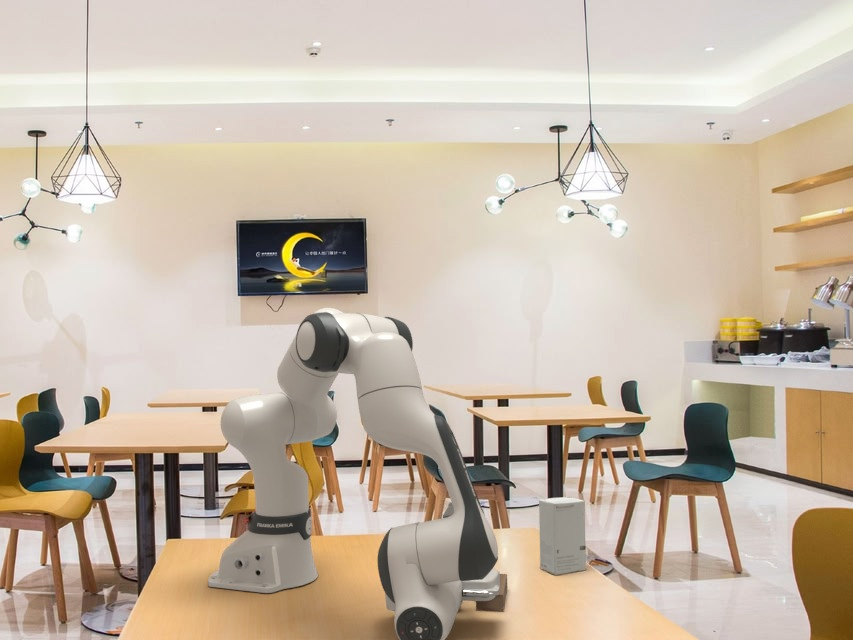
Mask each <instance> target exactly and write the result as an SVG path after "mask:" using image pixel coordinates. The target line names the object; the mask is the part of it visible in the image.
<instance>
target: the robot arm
mask: <svg viewBox="0 0 853 640" xmlns="http://www.w3.org/2000/svg"><path fill="white" fill-rule="evenodd" d="M413 344H414V343H413V337H412V333H411V331H410V328H409V326H408V325H407V324H406V323H405V322H403V321H401V320H399V319H397V318H393V317H390V316H379V315H375V314H369V313H362V312H356V313H348V312H346V313H345V312H343V311H341V310H340V309H337V308H333V307H322V308H319V309H317V310H316V311H314V312H313V313H310V314H309V315H307V316H305V318H304V319H303V320H302V321H301V323H300V324H299V327H298V329H297V332H296V334H295V336H294V338H293V339H292V341H291V343H290V345H289V347H288V349H287V351H285V354H284V356H283V357H282V360H281V362H280V363H279V366H278V367H277V374H276V375H277V376H276V377H277V382H278V386H279V387H280V389H281V390H282V391H281V392H272V393H260V394H258V393H257V394H248V395H247V396H243V397H242V396H241V397H239V398H237V399H233V400H231V401H228V403H227V404H226V405H225V407H224V409H223V411H222V413H221V416H220V429H221V432H222V435H223V437H224V438H225V440H226V442H227V443H228V444H229V445H230V446H231V447H233V448H235V449H236V450H237V451H239V453H240V454H241V455H242V456H243V457H244V458H245V460H246V462H247V464H248V465H249V467H250V470H251V473H252V479H253V485H254V486H253V488H254V499H255V501H254V502H255V509H254V510H252V512H251V513H250V514H248V515H247V517H245V518H244V519H243V520H244V525H246V524H247V530H245V532H243V533H242V534H241V535H240V536H238V537H237V538H236V539H235V540H234V541H233V542H232V543H230V544H229V545H228V546H227V547H226V548H225V549H224V550H223V552H222V553H221V557H220V559H219V567H218V569H217V570H215V571H214V572H213V573H211V575H210V576H208V579H207V585H208V587H210V588H219V589H227V590H237V591H246V592H251V593H261V594H262V593H263V594H271V593H277V592H279V591H281V590H285V589H290V588H296V587H300V586H304V585H307V584H309V583H312V582H314V581H315V580H316V579H317V578H318V577H319V573H318V571H317V570H318V569H317V567H316V564H315V560H314V554H313V547H312V541H311V536H312V530H313V529H312V528H313V526H312V525H313V522H312V521H313V519H312V512H311V508H310V504H309V503H310V501H309V499H310V497H309V496H310V495H309V475H308V473H307V472H306V470H305V468H304V467H303V466H301V465H299V464H298V463H296V462H294V461H292V460H289V458H288V456H287V452H286V445H292V444H300V443H301V444H302V443H311V442H312V441H316V440H318V439H322V438H324V437H326V436H329V435H330V434H331V433H332V432H333V430H334V428H335V426H336V423H337V420H338V414H337V413H338V412H337V409H336V408H337V407H336V405H335V402H334V401H333V399H332V398H331V397H330V396H329V395H328V394H329V392H330V389H331V387H332V386H333V383H334V382H335V380H336V378H337V377H338V375H339V374H344V375H345V374H346V375H353V376H354V379H355V387H356V389H355V390H356V397H357V398H356V399H357V403H358V404H357V405H358V411H359V416H360V420H361V424H362V426H363V429H364V431H365V433H366V435H368V437H369V438H370V439H371V440H373V441H374V442H376V443H378V445H381V446H384V447H386V448H389V449H393V450H398V451H404V452H410V453H416V454H419V455H423V456H426V457H428V458H430V459H432V460H433V461H434V462H435V463H436V464H437V466H438V468H439V472H440V473H441V477H442V480H443V482H444V485H445V488H446V490H447V493H448V497H449V498H450V503H452V505H453V507H454V514H453V515H451V516H450V517H446V518H443V517H442V518H436V519H433V520H426V521H422V522H419V521H418V522H414V523H409V524H403V525H399V526H395V527H390V529H389V530H388V531H387V532H386V533H385V535H384V536H383V539H382V540H381V543H380V545H379V548H378V550H377V551H378V552H377V553H378V554H377V571H378V574H379V575H378V576H379V580H380V583H381V586H382V589H383V591H384V598H385V606H386V607H385V608H386V609H387V611H389V612H394V619H393V620H394V630H395V633H396V636H397V638H398V639H399V640H446V638H447V637H448V636H449V634H450V632H451V630H452V628H453V626H454V623H455V621H456V618H457V614H458V612H459V609H460V607H461V606H460V604H461V601H462V600H463V601H467V602H468V601H469V602H476V601H489V600H492V599H493V598H495V596H496V595H498V594H499V591H500V574H501V573H500V571H499V569H497V568H494V567H495V565H496V564H497V563H498V561H499V556H498V555H499V550H498V549H499V547H498V542H497V538H496V535H495V533H494V529H493V528H492V526H491V524H490V523H489V520H488V518H487V517H486V515H485V512H484V510H483V507H482V505H481V502H480V500H479V498H478V495H477V492H476V490H475V487H474V483H473V482H472V478H471V476H470V473H469V470H468V467H467V465H466V461H465V460H464V457H463V453H462V452H461V449H460V447H459V443H458V442H457V439H456V437H455V433H454V432H453V430H452V428H451V426H450V425H449V423H448V421H447V420H446V419H445V418H444V416H441V415H438V414H435V413H434V412H433V410H431V408H429V406H428V404H427V402H426V399H425V396H424V392H423V388H422V387H423V386H422V382H421V378H420V373H419V370H418V366H417V363H416V360H415V357H414V354H413V346H414V345H413Z"/></svg>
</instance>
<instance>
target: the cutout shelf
mask: <svg viewBox="0 0 853 640" xmlns="http://www.w3.org/2000/svg"><path fill="white" fill-rule="evenodd" d="M507 593H508V574H507V573H500V591H499V594H498V595H496V596H495V598H493V599H492V600H489V601H475V611H477V612H478V611H481V612H482V611H483V612H504V610H505V604H506V599H507V595H508V594H507Z"/></svg>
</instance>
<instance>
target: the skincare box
mask: <svg viewBox="0 0 853 640" xmlns="http://www.w3.org/2000/svg"><path fill="white" fill-rule="evenodd" d="M538 504H539V505H538V507H539V508H538V509H539V511H538V512H539V514H538V515H539V516H538V517H539V566H540V569H542V570H544V571H546V572H548V573H549V574H551V575H553V576H559V575H565V574H569V573H574V572H580V571H581V572H583V571H586V569H587V560H586V559H587V558H586V557H587V556H586V554H587V553H586V549H587V548H586V514H585V513H586V512H585V511H586V506H585V500H583V499H579V498H575V497H572V496H564V497H551V498H550V497H549V498H543V499H538Z"/></svg>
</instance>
